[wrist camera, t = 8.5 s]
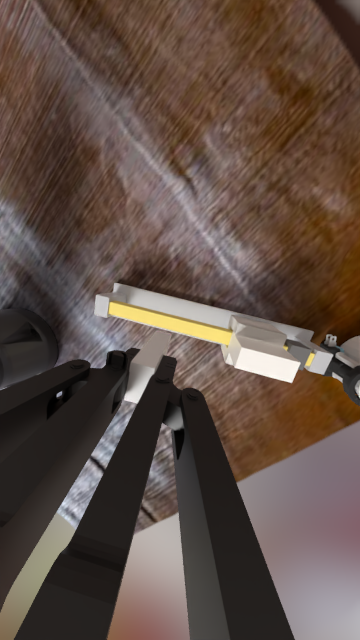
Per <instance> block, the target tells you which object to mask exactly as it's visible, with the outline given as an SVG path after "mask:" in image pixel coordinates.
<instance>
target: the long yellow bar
mask: <svg viewBox="0 0 360 640" xmlns="http://www.w3.org/2000/svg"><path fill="white" fill-rule="evenodd" d="M108 314H111V315H115V316H119V317H123V318H126V319H130V320H134V321H138V322H142V323H146V324H149V325H153V326H157V327H161V328H165V329H169V330H172V331H176V332H180V333H184V334H188V335H192V336H196V337H199V338H203V339H207V340H211V341H215V342H219V343H222V344H226V345H229V342H230V339H231V336H232V333H233V330H230V329H226V328H222V327H218V326H214V325H211V324H207V323H203V322H199V321H195V320H191V319H187V318H183V317H179V316H175V315H171V314H167V313H163V312H159V311H155V310H151V309H148V308H144V307H140V306H136V305H132V304H128V303H124V302H120V301H116V300H115V301H111V302H109V310H108ZM283 348H284V349H285V350H286V351H287V352H289V353H290V354H291V355H292V356H293V357H295V358H296V359H297V360H298V361H299V362H301V363H300V366H299V368H298V369H300V370H303V368H304V366H305V365H307V366H310V364H311V362H312V359H313V357H314V355H315V354H314V353H312V352H311V351H312V350H311V349H310V348H308V347H306V346H305V345H303V344H302V343H300V342H298V341H294V340H290V339H286V341H285V343H284V346H283Z"/></svg>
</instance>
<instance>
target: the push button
mask: <svg viewBox="0 0 360 640" xmlns="http://www.w3.org/2000/svg"><path fill="white" fill-rule="evenodd" d="M328 336H330V338H329V339H328ZM332 338H334V340H332ZM336 344H337V343H336V336H332V334H327V335H326V341H324V344H322V343H321V344H320V347H321V348H323V349H324V350H326V351H328V352H330V353H331V354H333V357H332V359H331V361H330V363H329V365H328V367H327V369H326V371H325V373H324V375H323V374H322V375H323V376H333V377H334V378H337V379H338V380H340V381H341V382H342V383H343V387H344V391H345V392H346V393H347V394H348V396H349V398H350V399H351V400H352V401H353V402H354V403H356V404H357V405H359V406H360V363H358V362H356V361H354V360H353V359H351V358H349V357H347V356H345V354H344V349H343V348H341V347H339V346H337V345H336ZM355 394H357V395H358V396H357V395H355Z"/></svg>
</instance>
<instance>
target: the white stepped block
mask: <svg viewBox="0 0 360 640" xmlns="http://www.w3.org/2000/svg"><path fill="white" fill-rule="evenodd" d="M227 329H230V330H233V333H232V336H231V339H230V342H229V345H226V344H222V346H221V349H222V353H223V356H224V360H225V363H226V364H230V365H234V367H235V368H238V369H242V370H245V371H249V372H253V373H256V374H260V375H264V376H268V377H271V378H275V379H279V380H282V381H286V382H290V383H292V381H293V379H294V377H295V374H296V372H297V370H298V368H299V366H300V363H301V362H299V361H298V360H297V359H296V358H295V357H293V356H292V355H291V354H290V353H289V352H287V351H286V350H285V349H284V348H283V346H284V343H285V341H286V339H287V336H288V335H286V334H284V333H283V332H281V331H280V330H278V329H277V328H275V327H274V326H272V325H271V324H267V323H263V322H259V321H255V320H251V319H247V318H243V317H239V316H235V315H231V317H230V320H229V323H228V326H227Z"/></svg>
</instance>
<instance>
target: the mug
mask: <svg viewBox="0 0 360 640" xmlns="http://www.w3.org/2000/svg"><path fill="white" fill-rule="evenodd" d="M340 347H341V348H343V349H344V354H345V356H347V357H349V358H351V359H353V360H354V361H356V362H358V363H360V336H356V337H353V338H351V339H349V340H347V341H346V342H345V343H343V344H342V345H341V346H340Z"/></svg>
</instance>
